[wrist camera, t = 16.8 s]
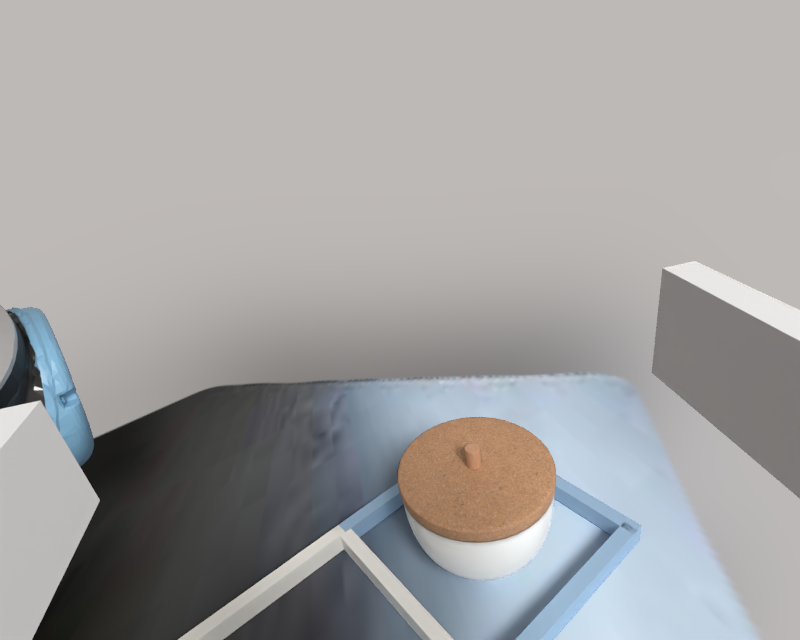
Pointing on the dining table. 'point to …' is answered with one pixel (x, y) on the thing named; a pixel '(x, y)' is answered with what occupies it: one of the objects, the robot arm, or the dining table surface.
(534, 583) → the dining table surface
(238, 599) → the white square frame
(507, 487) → the lidded jar
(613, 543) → the blue bezel
